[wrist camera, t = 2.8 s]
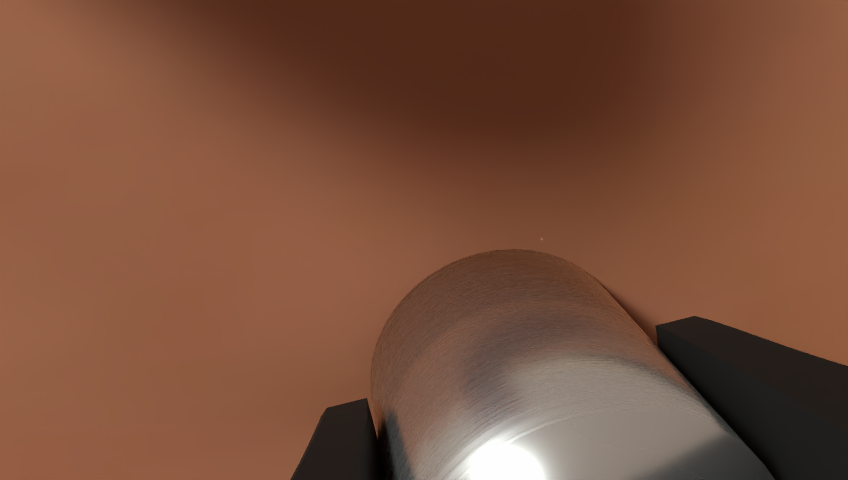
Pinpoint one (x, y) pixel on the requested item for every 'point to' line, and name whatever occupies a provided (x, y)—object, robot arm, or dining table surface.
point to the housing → (537, 384)
